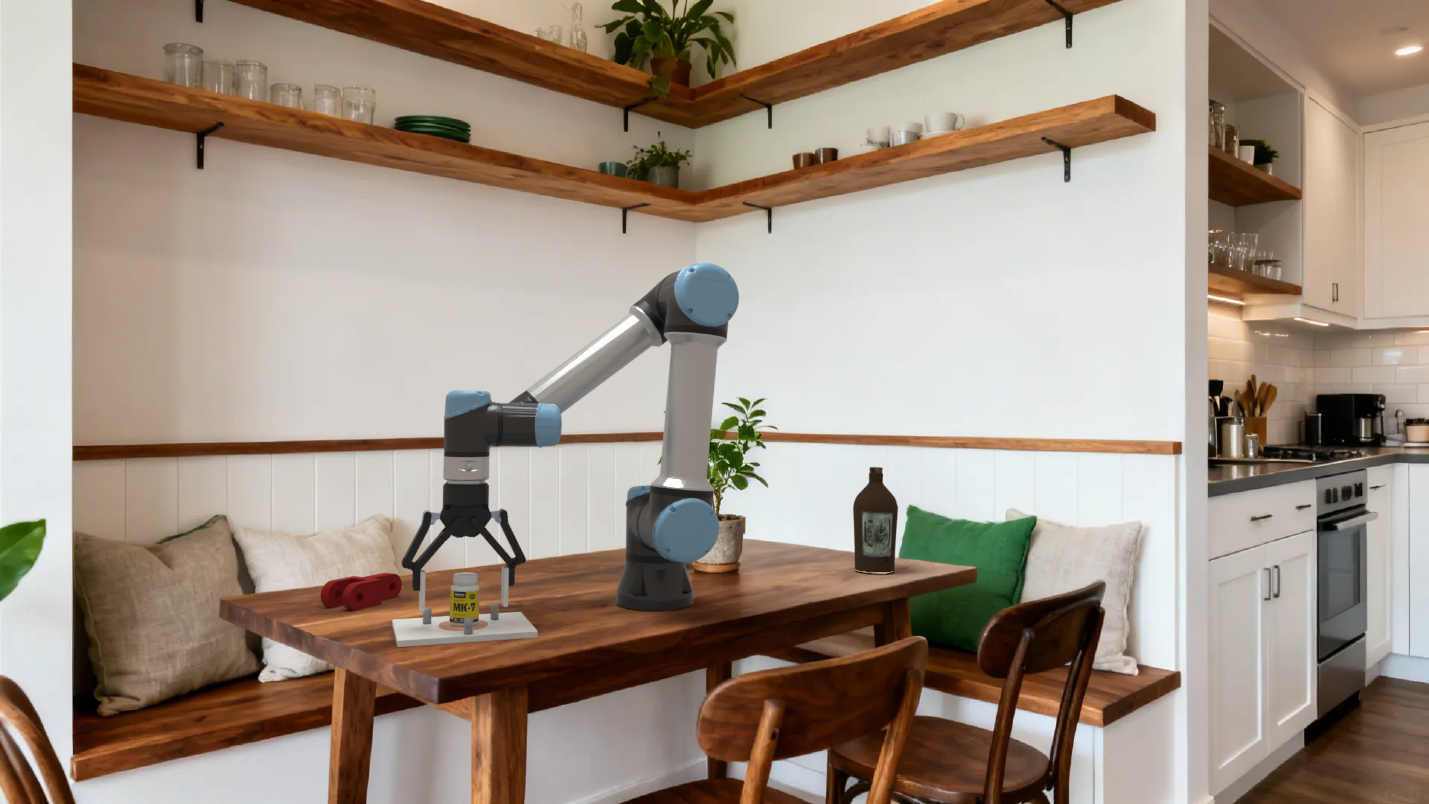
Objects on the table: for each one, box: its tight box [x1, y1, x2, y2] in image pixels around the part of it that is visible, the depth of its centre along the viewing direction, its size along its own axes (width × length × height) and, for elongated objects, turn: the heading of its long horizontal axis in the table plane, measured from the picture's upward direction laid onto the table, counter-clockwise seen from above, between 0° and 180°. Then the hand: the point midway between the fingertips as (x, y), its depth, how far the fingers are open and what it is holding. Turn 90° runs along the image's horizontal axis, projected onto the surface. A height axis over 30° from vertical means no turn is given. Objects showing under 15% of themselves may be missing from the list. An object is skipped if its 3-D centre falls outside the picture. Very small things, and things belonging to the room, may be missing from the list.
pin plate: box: [391, 603, 539, 648], centre depth 161 cm, size 22×16×4 cm
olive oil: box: [852, 466, 899, 572], centre depth 229 cm, size 11×11×25 cm
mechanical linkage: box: [320, 572, 403, 611], centre depth 183 cm, size 16×7×5 cm, turn 156°
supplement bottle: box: [449, 571, 481, 627], centre depth 161 cm, size 5×5×8 cm
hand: (463, 608), depth 161 cm, fingers open, 13 cm apart
